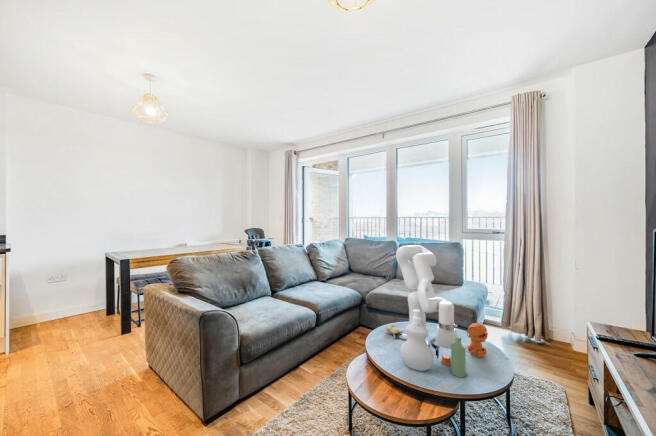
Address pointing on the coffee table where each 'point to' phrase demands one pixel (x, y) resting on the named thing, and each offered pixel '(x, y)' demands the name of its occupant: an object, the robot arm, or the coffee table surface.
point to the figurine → (394, 331)
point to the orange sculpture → (477, 339)
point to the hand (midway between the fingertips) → (446, 358)
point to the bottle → (458, 358)
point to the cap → (446, 359)
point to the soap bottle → (416, 346)
